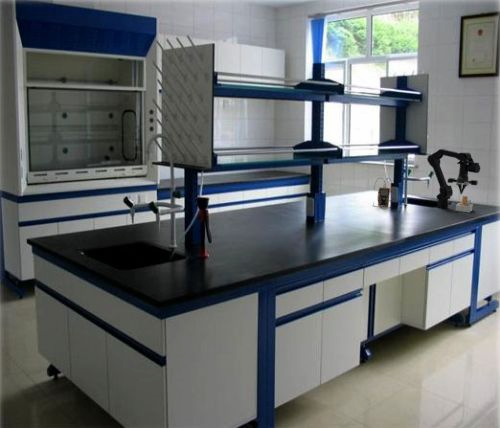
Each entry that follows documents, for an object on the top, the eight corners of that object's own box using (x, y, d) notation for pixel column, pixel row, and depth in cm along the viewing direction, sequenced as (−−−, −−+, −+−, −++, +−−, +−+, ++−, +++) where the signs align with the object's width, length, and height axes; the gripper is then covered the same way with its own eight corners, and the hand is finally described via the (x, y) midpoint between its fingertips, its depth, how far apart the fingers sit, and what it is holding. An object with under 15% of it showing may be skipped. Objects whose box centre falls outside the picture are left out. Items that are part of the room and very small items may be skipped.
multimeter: (371, 207, 387) (373, 178, 383) (372, 205, 396) (374, 177, 392) (393, 209, 383) (395, 180, 379) (394, 206, 392) (396, 178, 388)
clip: (465, 205, 379) (465, 202, 378) (468, 203, 388) (468, 199, 388) (467, 206, 378) (468, 202, 377) (470, 203, 388) (470, 200, 387)
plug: (458, 208, 384) (459, 196, 382) (460, 207, 389) (461, 195, 387) (467, 210, 381) (469, 197, 379) (469, 208, 386) (470, 196, 384)
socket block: (455, 210, 383) (456, 205, 383) (458, 208, 392) (458, 202, 391) (469, 212, 379) (470, 206, 378) (471, 210, 387) (472, 204, 387)
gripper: (446, 171, 375) (444, 194, 378) (476, 173, 366) (473, 197, 369) (450, 169, 384) (447, 192, 388) (479, 172, 375) (476, 195, 378)
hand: (461, 194), depth 380 cm, fingers closed
